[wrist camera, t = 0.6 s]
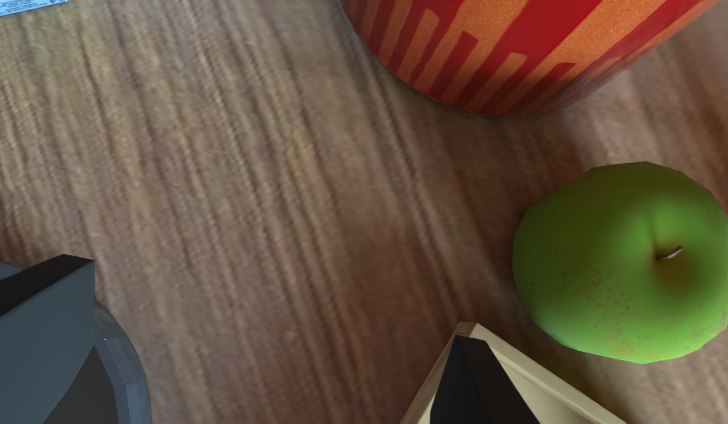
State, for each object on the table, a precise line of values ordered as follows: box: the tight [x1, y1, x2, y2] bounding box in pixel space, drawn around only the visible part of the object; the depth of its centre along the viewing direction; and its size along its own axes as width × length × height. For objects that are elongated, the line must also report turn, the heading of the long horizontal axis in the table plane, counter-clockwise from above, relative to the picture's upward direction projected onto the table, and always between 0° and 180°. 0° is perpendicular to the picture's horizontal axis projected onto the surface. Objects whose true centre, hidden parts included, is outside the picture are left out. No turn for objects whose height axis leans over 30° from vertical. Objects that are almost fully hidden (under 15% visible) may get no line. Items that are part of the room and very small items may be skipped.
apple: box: [512, 161, 728, 364], centre depth 34 cm, size 11×11×11 cm
